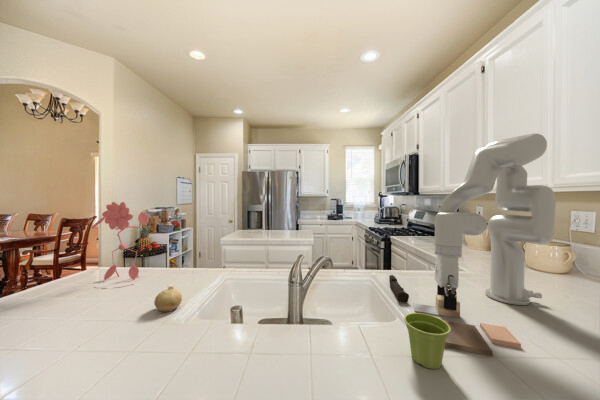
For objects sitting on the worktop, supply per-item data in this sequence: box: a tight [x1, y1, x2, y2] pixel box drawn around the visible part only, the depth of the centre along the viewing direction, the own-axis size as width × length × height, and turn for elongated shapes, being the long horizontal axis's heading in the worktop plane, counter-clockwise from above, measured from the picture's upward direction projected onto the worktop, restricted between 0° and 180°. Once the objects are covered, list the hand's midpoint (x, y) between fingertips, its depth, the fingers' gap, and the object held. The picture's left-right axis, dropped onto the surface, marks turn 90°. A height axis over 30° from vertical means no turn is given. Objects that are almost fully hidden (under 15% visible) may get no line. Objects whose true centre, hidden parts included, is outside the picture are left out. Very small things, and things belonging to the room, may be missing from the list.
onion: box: [153, 285, 183, 313], centre depth 76 cm, size 8×8×7 cm
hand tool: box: [388, 274, 410, 304], centre depth 91 cm, size 19×4×5 cm, turn 169°
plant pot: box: [403, 312, 451, 370], centre depth 53 cm, size 9×9×9 cm
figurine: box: [91, 201, 150, 290], centre depth 99 cm, size 15×26×35 cm, turn 89°
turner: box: [412, 294, 461, 319], centre depth 76 cm, size 13×6×5 cm, turn 69°
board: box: [442, 319, 494, 357], centre depth 62 cm, size 14×12×1 cm
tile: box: [479, 322, 522, 349], centre depth 62 cm, size 6×2×8 cm
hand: (446, 302), depth 75 cm, fingers open, 9 cm apart
